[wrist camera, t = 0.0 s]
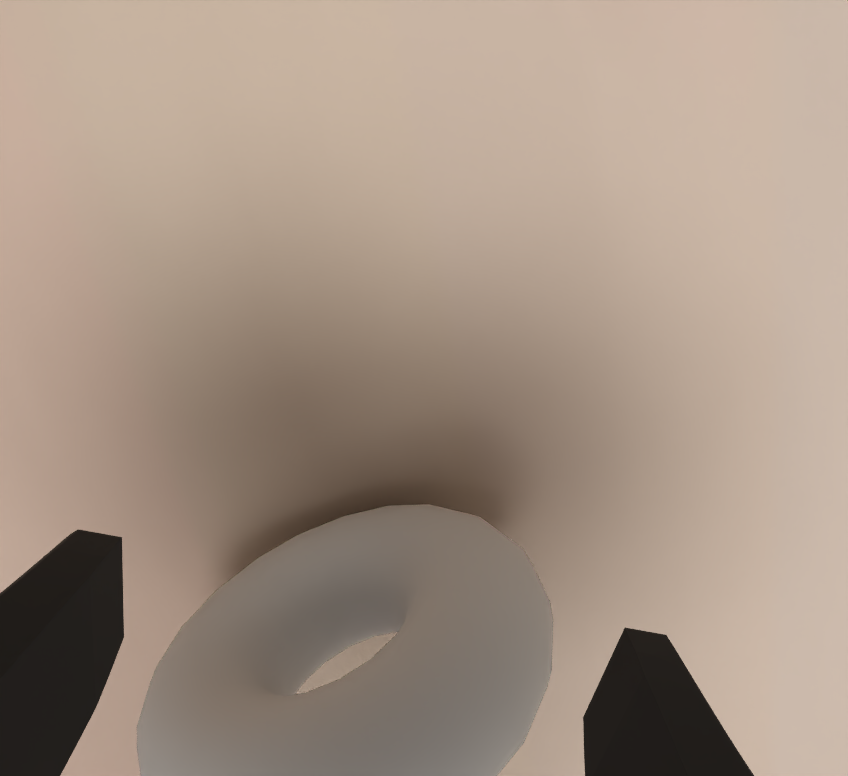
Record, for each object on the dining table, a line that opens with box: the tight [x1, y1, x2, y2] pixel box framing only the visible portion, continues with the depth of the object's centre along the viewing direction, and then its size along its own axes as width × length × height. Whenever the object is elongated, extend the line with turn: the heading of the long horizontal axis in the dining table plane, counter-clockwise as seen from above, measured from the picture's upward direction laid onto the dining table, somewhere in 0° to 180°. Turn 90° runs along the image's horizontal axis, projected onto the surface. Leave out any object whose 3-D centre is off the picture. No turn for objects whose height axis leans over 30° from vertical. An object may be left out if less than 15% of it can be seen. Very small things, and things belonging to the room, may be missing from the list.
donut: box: [137, 504, 553, 776], centre depth 18 cm, size 10×4×10 cm, turn 111°
